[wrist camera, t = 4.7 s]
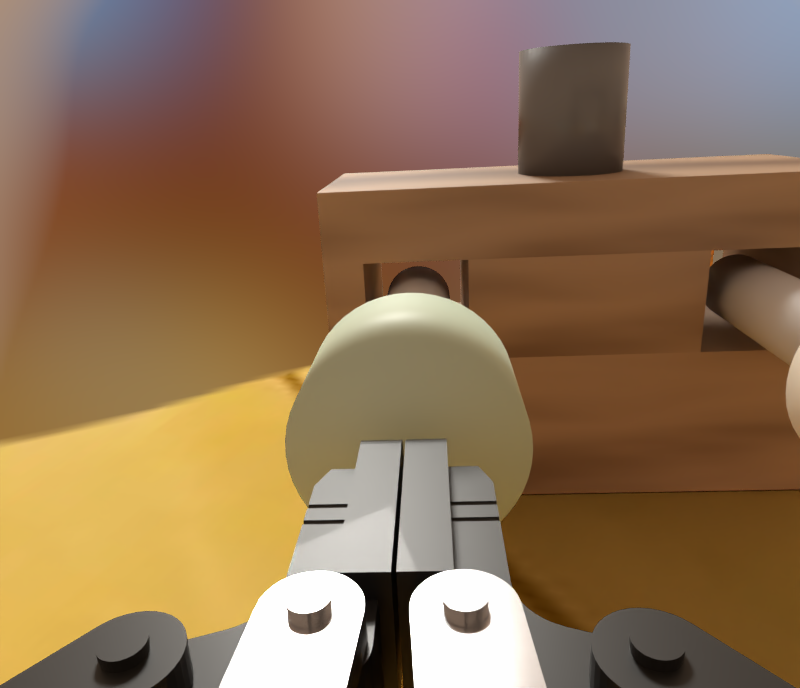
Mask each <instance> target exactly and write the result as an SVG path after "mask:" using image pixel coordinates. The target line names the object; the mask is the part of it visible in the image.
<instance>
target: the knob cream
mask: <svg viewBox="0 0 800 688" xmlns="http://www.w3.org/2000/svg"><path fill="white" fill-rule="evenodd" d="M706 306H707V307H708V308H709V309H710V310H711V311H713V312H714V313H716V314H717V315H718V316H720V317H721V318H723V319H724V320H726V321H727V322H728V323H730V324H731V325H733V326H734V327H736V328H737V329H738V330H740V331H741V332H743V333H744V334H745V335H747V336H748V337H750V338H751V339H753V340H754V341H755V342H757V343H758V344H760V345H761V346H763V347H764V348H765V349H767V350H768V351H770V352H771V353H773V354H774V355H775V356H777V357H778V358H780V359H781V360H782V361H784V362H785V363H787V364H788V365H790V368H789V373H788V377H787V382H786V406H787V411H788V415H789V418H790V421H791V423H792V426H793V428H794V430H795V431H796V433H797V435H798V436H799V438H800V279H799V278H796V277H794V276H792V275H790V274H787V273H785V272H783V271H781V270H779V269H776V268H774V267H772V266H770V265H767V264H765V263H763V262H761V261H759V260H756V259H754V258H752V257H750V256H747V255H741V254H735V255H729V256H726V257H723V258H721V259H720V260H718V261H716V262H715V263H714V264H713V265H712V266H711V267H710V270H709V279H708V288H707V297H706Z"/></svg>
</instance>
